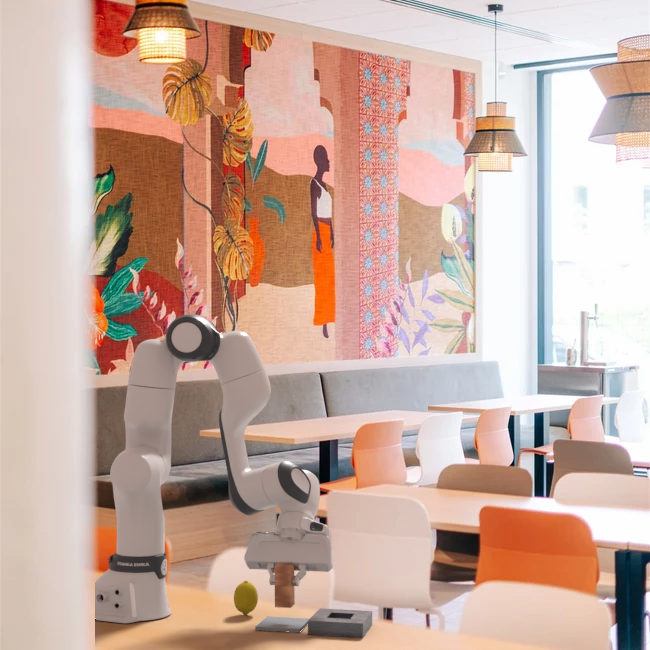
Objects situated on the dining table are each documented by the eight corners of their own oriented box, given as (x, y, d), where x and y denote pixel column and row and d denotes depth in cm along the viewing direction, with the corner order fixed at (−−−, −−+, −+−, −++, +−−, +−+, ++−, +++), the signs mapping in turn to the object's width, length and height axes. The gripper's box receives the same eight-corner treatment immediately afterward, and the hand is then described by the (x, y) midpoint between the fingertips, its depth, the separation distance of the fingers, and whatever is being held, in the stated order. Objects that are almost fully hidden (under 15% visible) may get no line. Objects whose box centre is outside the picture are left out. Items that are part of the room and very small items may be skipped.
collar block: (307, 634, 228) (307, 620, 228) (319, 621, 240) (319, 608, 240) (362, 637, 226) (362, 623, 226) (372, 624, 238) (372, 611, 238)
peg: (274, 607, 234) (274, 566, 235) (278, 603, 238) (278, 563, 238) (290, 607, 234) (290, 566, 234) (294, 604, 237) (294, 563, 238)
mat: (255, 630, 232) (255, 626, 232) (267, 619, 242) (267, 616, 242) (299, 632, 230) (299, 629, 230) (310, 622, 239) (310, 618, 240)
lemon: (254, 618, 242) (254, 583, 243) (230, 617, 244) (231, 582, 244) (260, 613, 248) (260, 578, 248) (237, 612, 249) (237, 577, 249)
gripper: (248, 523, 245) (235, 574, 236) (334, 525, 241) (326, 577, 231) (253, 540, 250) (241, 590, 240) (338, 542, 245) (330, 594, 235)
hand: (283, 584), depth 235 cm, fingers closed on peg, 4 cm apart
